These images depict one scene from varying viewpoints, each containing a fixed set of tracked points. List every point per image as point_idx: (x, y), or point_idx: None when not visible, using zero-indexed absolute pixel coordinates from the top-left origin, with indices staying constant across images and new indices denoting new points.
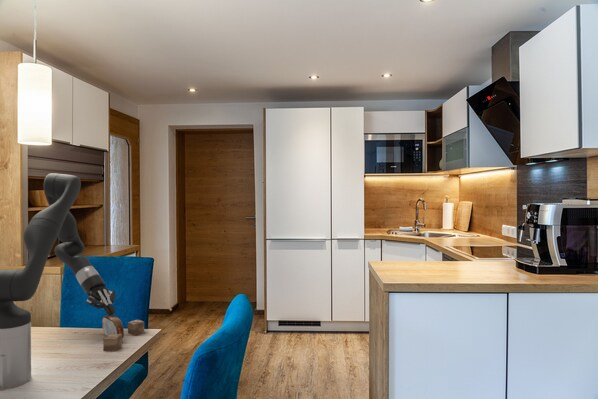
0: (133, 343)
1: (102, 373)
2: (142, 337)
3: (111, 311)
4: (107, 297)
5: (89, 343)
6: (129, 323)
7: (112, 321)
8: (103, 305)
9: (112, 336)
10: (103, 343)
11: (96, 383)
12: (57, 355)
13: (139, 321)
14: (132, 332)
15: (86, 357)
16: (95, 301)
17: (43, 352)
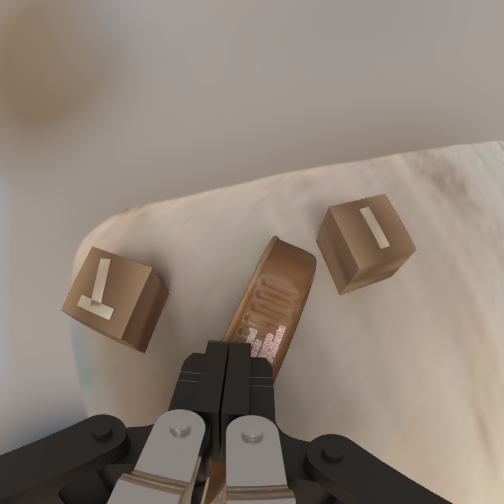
0: (265, 219)
1: (467, 156)
2: (182, 234)
3: (250, 354)
4: (164, 499)
5: (358, 425)
6: (131, 318)
7: (307, 295)
8: (301, 446)
9: (378, 225)
10: (405, 260)
11: (487, 142)
12: (495, 404)
13: (99, 268)
14: (159, 301)
15: (459, 282)
16: (430, 499)
17: (492, 483)
